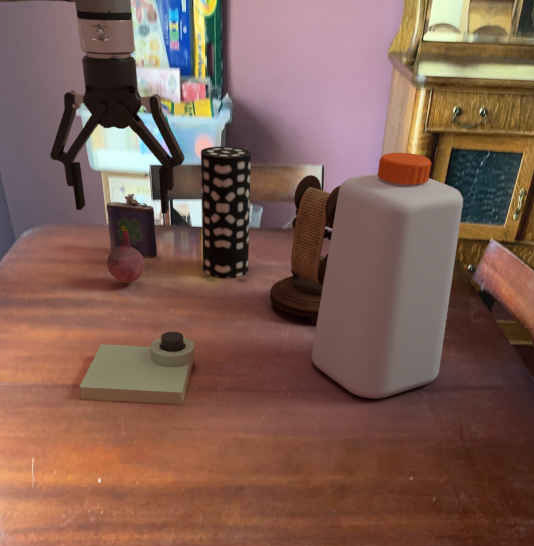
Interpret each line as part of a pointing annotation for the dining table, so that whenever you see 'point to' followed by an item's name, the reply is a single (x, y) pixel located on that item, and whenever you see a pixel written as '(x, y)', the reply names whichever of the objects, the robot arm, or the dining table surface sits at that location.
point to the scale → (139, 374)
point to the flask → (132, 225)
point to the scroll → (307, 250)
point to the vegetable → (126, 261)
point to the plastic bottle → (388, 279)
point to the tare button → (172, 341)
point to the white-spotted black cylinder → (225, 210)
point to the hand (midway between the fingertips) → (123, 209)
